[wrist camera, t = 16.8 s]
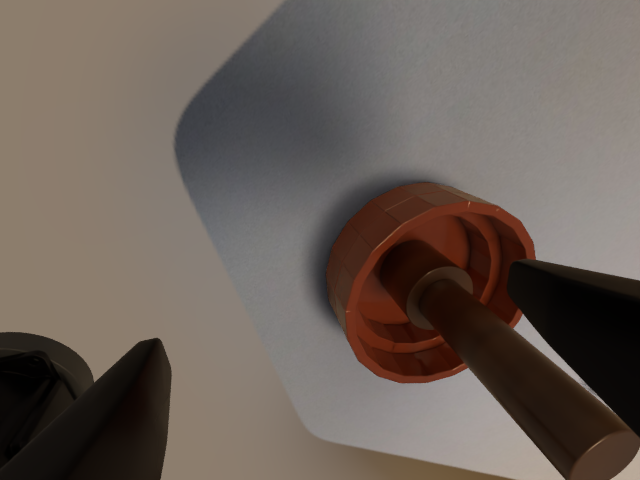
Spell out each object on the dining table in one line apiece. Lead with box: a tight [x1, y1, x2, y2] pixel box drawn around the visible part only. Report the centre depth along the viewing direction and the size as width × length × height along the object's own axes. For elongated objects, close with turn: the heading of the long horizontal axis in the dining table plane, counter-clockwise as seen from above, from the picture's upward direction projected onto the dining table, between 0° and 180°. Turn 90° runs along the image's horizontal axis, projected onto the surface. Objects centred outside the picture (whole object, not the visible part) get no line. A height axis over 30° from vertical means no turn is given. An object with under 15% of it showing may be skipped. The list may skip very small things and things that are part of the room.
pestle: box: [380, 240, 640, 480], centre depth 17 cm, size 4×4×14 cm
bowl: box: [326, 182, 536, 383], centre depth 22 cm, size 12×12×5 cm
